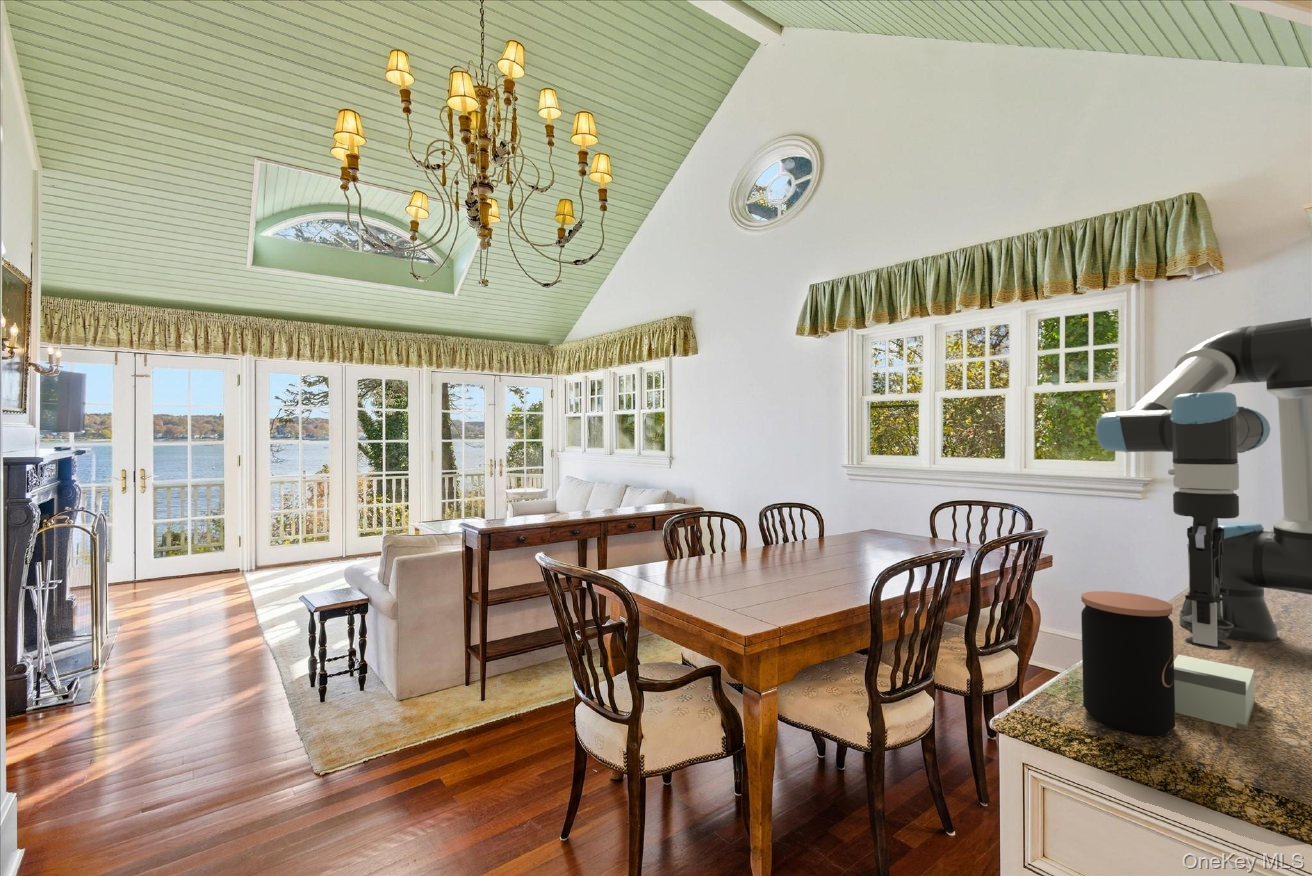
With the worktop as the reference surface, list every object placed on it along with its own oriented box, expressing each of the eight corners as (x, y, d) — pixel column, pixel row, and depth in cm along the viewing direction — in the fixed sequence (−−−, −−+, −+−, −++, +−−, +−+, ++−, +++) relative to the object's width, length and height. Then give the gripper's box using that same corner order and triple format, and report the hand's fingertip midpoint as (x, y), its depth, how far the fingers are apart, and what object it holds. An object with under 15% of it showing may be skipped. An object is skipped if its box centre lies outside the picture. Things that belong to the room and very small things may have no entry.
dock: (1179, 683, 99) (1178, 645, 99) (1254, 701, 92) (1253, 659, 92) (1163, 709, 90) (1162, 666, 90) (1246, 730, 83) (1245, 684, 83)
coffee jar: (1184, 746, 79) (1181, 614, 79) (1086, 727, 85) (1084, 603, 85) (1167, 715, 88) (1164, 596, 88) (1080, 699, 94) (1078, 587, 94)
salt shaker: (1184, 635, 95) (1182, 562, 96) (1234, 643, 91) (1233, 567, 91) (1181, 644, 91) (1179, 567, 91) (1234, 653, 87) (1232, 573, 87)
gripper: (1182, 486, 101) (1185, 621, 100) (1162, 493, 88) (1165, 646, 88) (1244, 488, 95) (1247, 631, 95) (1231, 496, 83) (1235, 660, 82)
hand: (1207, 638), depth 91 cm, fingers closed on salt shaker, 6 cm apart
